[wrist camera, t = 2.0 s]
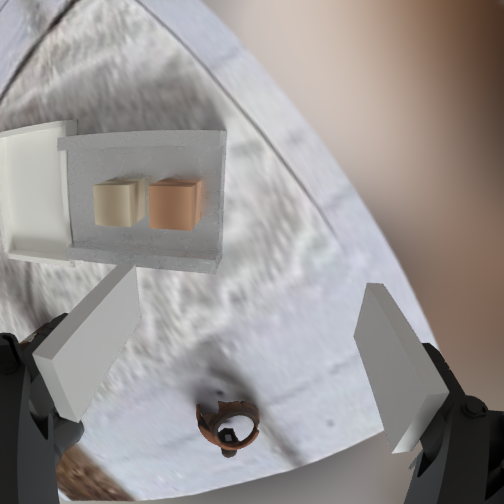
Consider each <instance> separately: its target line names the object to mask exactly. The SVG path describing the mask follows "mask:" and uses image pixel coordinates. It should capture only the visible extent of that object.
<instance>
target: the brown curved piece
mask: <svg viewBox="0 0 504 504" xmlns="http://www.w3.org/2000/svg"><path fill="white" fill-rule="evenodd" d="M218 403H219V414H216V413H205V414H204V415H203V417H202V416H201V414H200V405H199V404H197V410H196V417H197V421H198V427H199V429H200V432H201V433H202V435H203V436H204V437H205V438H206V439H207V440H208V441H209V442H211V443H213V444H215V445H218V446H219V447H221V450H222V454H223V455H224V457H227V458H230V457H233V456H234V455H235V454H236V452H237V449H241V448H244V447H246V446H247V445H249V444H250V443H252V442H253V441H254V440H255V438H256V437H257V435H258V433H259V430H258V429H257V427H258V424H259V412H258V409H257V408H256V407H255V406H253V405H251V404H250V403H247V402H245V401H241V402H239V401H234V402H229V403H225V402H222V401H218ZM238 415H243V416H247V417H249V418H250V419H252V421H253V423H254V428H253V430H252V432H251V433H250V435H249V436H248V437H247V438H245V439H244V440H242V441H239V440H238V438H237V437H236V435H235V432H234V430H233V428H224V429H223V430H221V431H220V432H218V428H219V427H220V425H221V424H222V423H223V422H224V421H225V420H226V419H228V418H231V417H233V416H238Z"/></svg>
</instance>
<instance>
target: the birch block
mask: <svg viewBox="0 0 504 504" xmlns="http://www.w3.org/2000/svg"><path fill="white" fill-rule="evenodd" d="M93 196H94V212H95V225H102V226H120V227H131V226H133V225H134V224H136V223H137V222H138V221H140V220H141V219H143V218H144V217H145V216H146V213H145V179H109V180H107V181H104V182H101V183H98V184H95V185H93Z"/></svg>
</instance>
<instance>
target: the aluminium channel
mask: <svg viewBox="0 0 504 504" xmlns="http://www.w3.org/2000/svg"><path fill="white" fill-rule="evenodd" d="M226 140H227V131H221V130H150V131H127V132H111V133H98V134H86V135H76V136H67V137H59V138H57V150H58V151H65V150H68V182H69V199H70V211H71V222H72V231H73V240H74V242H72V243H70V244H69V245H67V246H66V247H65V251H66V258H67V259H69V260H78V261H87V262H96V263H105V264H115V265H118V264H120V263H126V264H136V267H144V268H155V269H165V270H176V271H187V272H198V273H209V274H216V271H217V269H218V266H219V263H220V261H221V258H222V233H223V205H224V181H225V160H226ZM109 179H145V213H146V216H145V217H144V218H143V219H141V220H140V221H138V222H137V223H136V224H134V225H133V226H131V227H120V226H102V225H95V212H94V196H93V185H95V184H98V183H101V182H104V181H107V180H109ZM162 179H175V180H201V205H200V220H199V222H198V223H197V224H196V225H195V227H194V228H193V229H192V230H191V231H184V230H169V229H153V228H150V221H149V185H151V184H153V183H156V182H158V181H160V180H162Z"/></svg>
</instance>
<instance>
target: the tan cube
mask: <svg viewBox="0 0 504 504" xmlns="http://www.w3.org/2000/svg"><path fill="white" fill-rule="evenodd" d="M200 205H201V180H175V179H162V180H160V181H158V182H156V183H153V184H151V185H149V221H150V228H153V229H169V230H184V231H191V230H192V229H193V228H194V227H195V225H196V224H197V223H198V222H199V220H200Z"/></svg>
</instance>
